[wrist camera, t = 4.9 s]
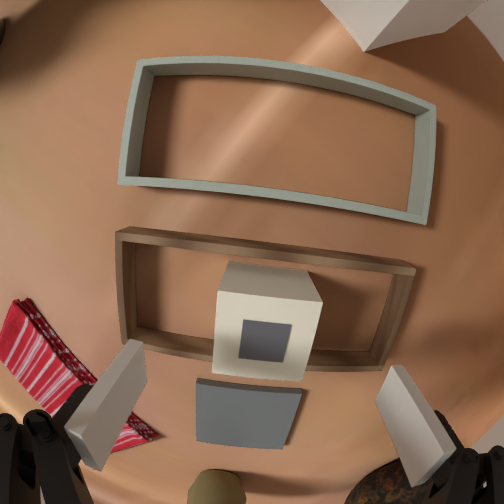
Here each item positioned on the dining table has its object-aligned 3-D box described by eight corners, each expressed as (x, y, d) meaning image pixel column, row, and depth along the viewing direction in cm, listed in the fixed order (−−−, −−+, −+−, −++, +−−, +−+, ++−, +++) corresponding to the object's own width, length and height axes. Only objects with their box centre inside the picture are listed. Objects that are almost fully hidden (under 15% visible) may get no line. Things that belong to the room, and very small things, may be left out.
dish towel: (26, 287, 23) (12, 295, 20) (162, 430, 27) (157, 446, 25) (-2, 343, 26) (-12, 351, 23) (101, 450, 30) (95, 461, 27)
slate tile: (197, 436, 26) (196, 441, 26) (197, 378, 24) (195, 383, 23) (281, 444, 26) (282, 449, 26) (301, 388, 24) (302, 393, 23)
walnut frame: (132, 330, 23) (122, 343, 20) (129, 226, 20) (115, 231, 18) (372, 356, 23) (381, 370, 21) (402, 260, 21) (416, 268, 18)
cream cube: (222, 328, 22) (211, 374, 17) (228, 260, 21) (217, 291, 15) (292, 336, 23) (301, 382, 17) (306, 270, 21) (323, 303, 15)
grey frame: (131, 183, 20) (117, 184, 17) (148, 70, 17) (137, 59, 15) (410, 220, 20) (426, 225, 17) (421, 111, 17) (436, 105, 15)
